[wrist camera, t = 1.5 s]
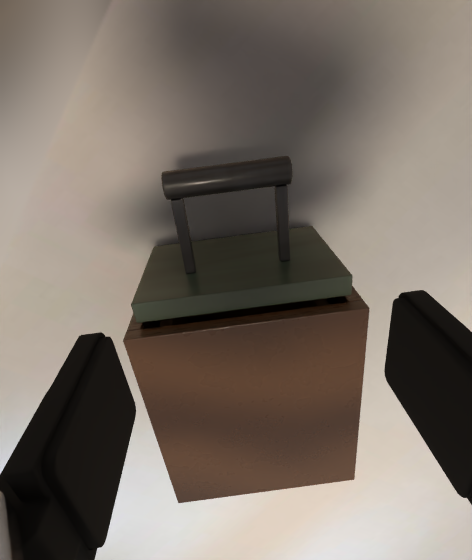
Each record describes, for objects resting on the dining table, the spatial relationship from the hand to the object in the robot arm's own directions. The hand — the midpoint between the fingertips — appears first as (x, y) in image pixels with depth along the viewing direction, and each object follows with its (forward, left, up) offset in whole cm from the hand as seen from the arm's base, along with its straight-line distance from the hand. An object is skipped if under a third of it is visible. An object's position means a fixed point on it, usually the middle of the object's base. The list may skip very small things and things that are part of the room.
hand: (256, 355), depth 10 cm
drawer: (+6, 0, -15) cm, 16 cm away
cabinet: (+11, 0, -16) cm, 19 cm away
